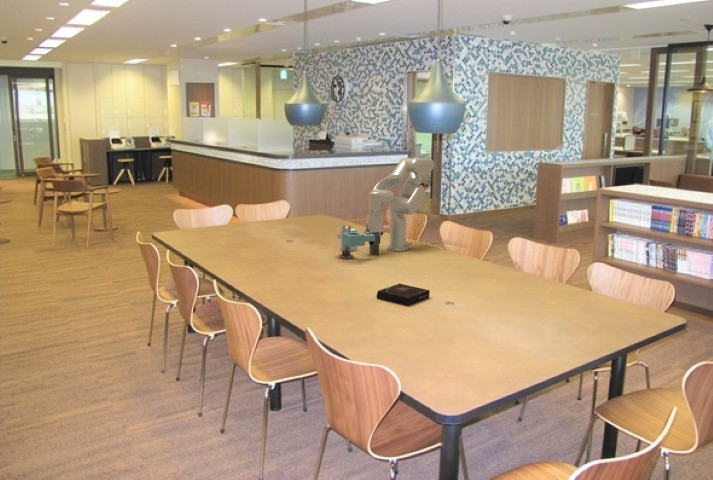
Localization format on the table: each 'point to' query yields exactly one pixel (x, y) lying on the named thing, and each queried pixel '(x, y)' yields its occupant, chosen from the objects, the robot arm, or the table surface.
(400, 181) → the robot arm
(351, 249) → the supplement box
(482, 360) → the table surface
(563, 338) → the table surface
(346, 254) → the grey tall round-topped piece
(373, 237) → the teal square frame handle
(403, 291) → the portable cd player
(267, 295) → the table surface
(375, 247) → the steel wedge pin
